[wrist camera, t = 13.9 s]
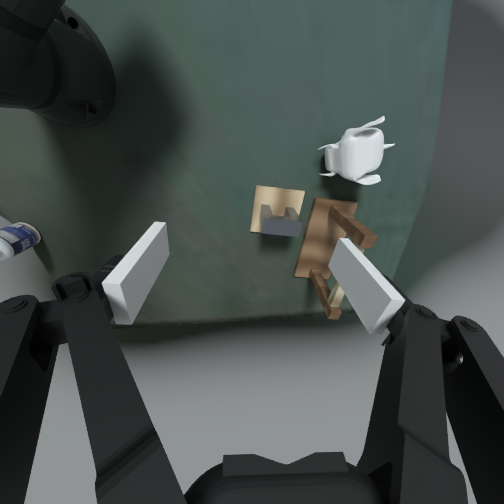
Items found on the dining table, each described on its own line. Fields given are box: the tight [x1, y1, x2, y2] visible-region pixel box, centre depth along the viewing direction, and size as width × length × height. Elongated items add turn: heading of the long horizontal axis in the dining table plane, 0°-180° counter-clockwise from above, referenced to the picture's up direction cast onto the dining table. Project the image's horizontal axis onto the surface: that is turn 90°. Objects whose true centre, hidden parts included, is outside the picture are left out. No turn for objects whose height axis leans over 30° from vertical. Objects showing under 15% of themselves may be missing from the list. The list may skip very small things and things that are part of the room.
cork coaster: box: [251, 185, 305, 232], centre depth 44 cm, size 10×10×1 cm
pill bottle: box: [0, 223, 41, 260], centre depth 41 cm, size 5×5×10 cm
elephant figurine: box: [318, 116, 395, 185], centre depth 35 cm, size 10×12×9 cm
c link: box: [259, 204, 303, 237], centre depth 40 cm, size 7×3×8 cm, turn 83°
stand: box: [294, 197, 378, 319], centre depth 42 cm, size 20×9×15 cm, turn 173°
